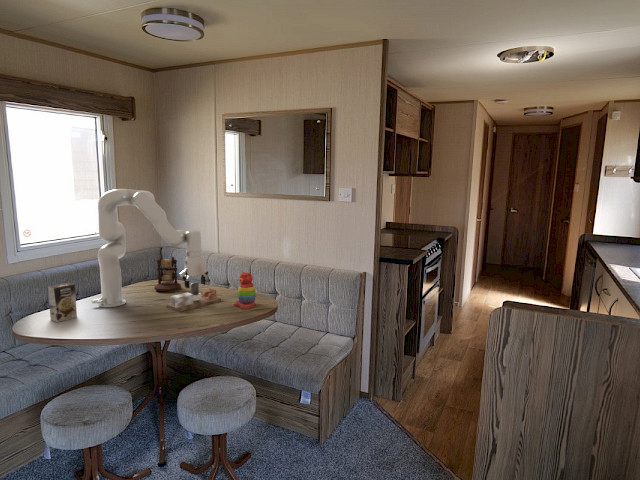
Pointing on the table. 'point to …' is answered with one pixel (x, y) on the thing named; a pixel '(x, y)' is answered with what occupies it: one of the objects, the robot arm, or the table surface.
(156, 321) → the table surface
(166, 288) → the wooden spool holder
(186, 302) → the wooden board
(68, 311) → the coffee box
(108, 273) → the robot arm
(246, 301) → the stacking bear
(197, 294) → the white block with knob
